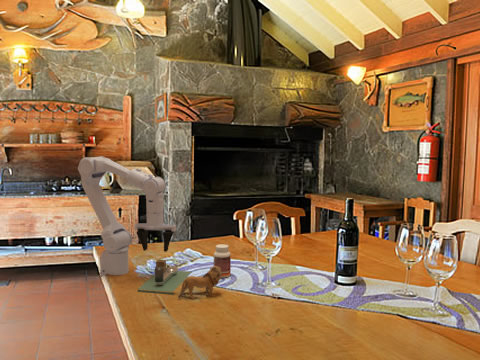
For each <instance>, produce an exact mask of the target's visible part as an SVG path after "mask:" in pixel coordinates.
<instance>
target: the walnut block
mask: <svg viewBox="0 0 480 360" xmlns="http://www.w3.org/2000/svg"><path fill="white" fill-rule="evenodd" d="M155 267H163V273H164V272H165V269H166V268H167V260H166V259H157V260H156V261H155Z"/></svg>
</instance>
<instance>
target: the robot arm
mask: <svg viewBox="0 0 480 360" xmlns="http://www.w3.org/2000/svg"><path fill="white" fill-rule="evenodd" d="M77 170H78V172H79V175H80V180H81V186H82V189H83V191H84V192H85V194H86V196H87V198H88V201H89V203H90V205H91V206H92V209H93V210H94V213H95V215H96V216H97V218H98V221H99V223H100V226H101V227H102V229H103V230H102V232H101V235H100V237H101V239H102V245H103V248H104V250H102V252H101V254H100V260H99V261H100V262H99V264H100V265H99V266H100V268H99V269H100V274H99V277H100V278H102V277H104V276H106V275H109V276H122V275H125V274H128V273H129V271H130V269H129V265H130V264H129V249H130V245H131V244H132V242H133V236H132V234H131V233H130V231H129V230H127V229H126V227H125V226H124V225H123V224H122V223H120V222H118V220H117V218H116V216H115V214H114V211H113V210H112V208H111V206H110V204H109V202H108V200H107V197H106V196H105V193H104V191H103V190H102V188H101V185H100V183H101V180H102V179H103V178H104V176H105V175H106V173H107V172H108V173H111V174H113V175H116V176H119V177H121V178H124V179H126V182H127V183H128V184H129V185H131V186H133V187H136V188H138V189H140V190H142V191H143V192H144V193H143V194H145V199H146V201H145V202H146V222H145V223H144V222H143V223H139V222H138V223H137V222H136V223H135V224H134V231H136V235H137V236H138V239H139V240H140V243H141V246H142V250H143V252H144V251H146V250H148V246H149V245H148V237H149V236H148V234H149V231H163V232H162V239H163V252H164V253H166V252H168V250H169V248H170V242H171V239H172V237H173V235H174V233H175V232H176V231H177V225H176V224H169V223H164V191H165V190H166V187H167V183H166V181H165V179H163V178H162V177H161V176H155V177H154V176H153V174H151V173H149V174H148V173H146V172H145V171H142V168H133V169H129V168H127V167H125V166H123V165H122V164H119V163H118V162H116V161H113V160H112V159H111V158H109V157H105V156H103V155H101V156H100V155H99V156H95V157H94V156H93V157H89V156H88V157H87V156H86V157H83V158H81V159H80V161H79V164H78V166H77Z"/></svg>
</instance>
